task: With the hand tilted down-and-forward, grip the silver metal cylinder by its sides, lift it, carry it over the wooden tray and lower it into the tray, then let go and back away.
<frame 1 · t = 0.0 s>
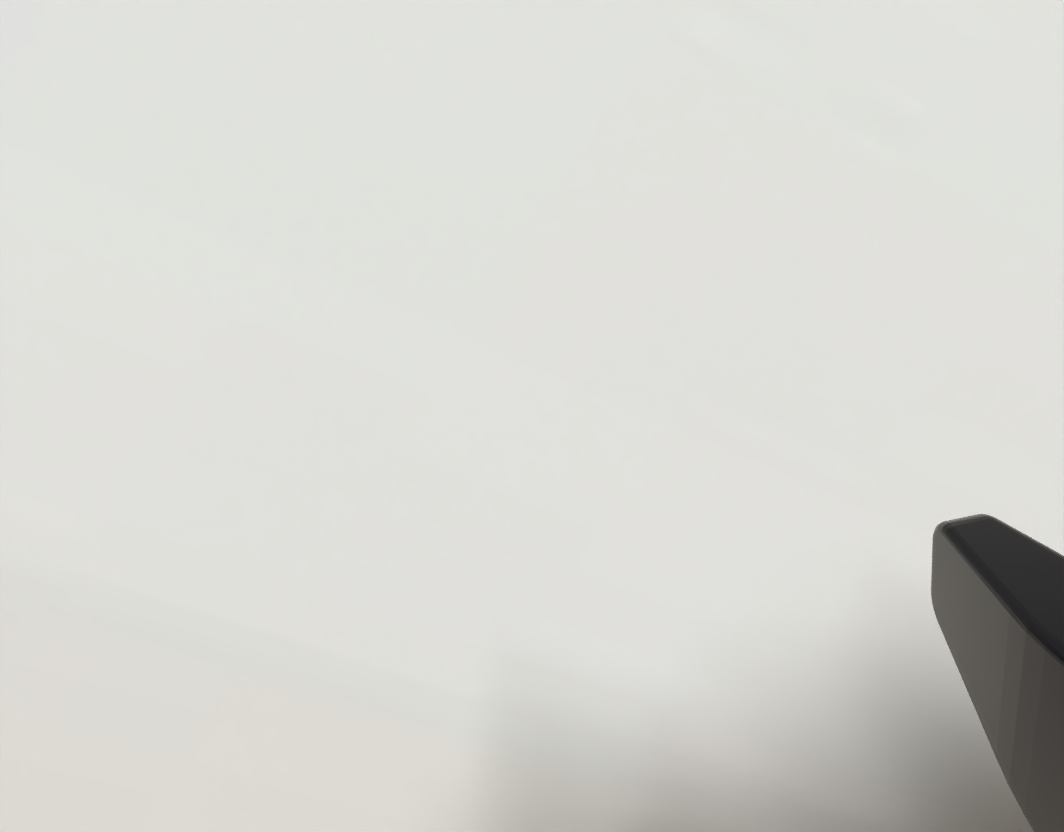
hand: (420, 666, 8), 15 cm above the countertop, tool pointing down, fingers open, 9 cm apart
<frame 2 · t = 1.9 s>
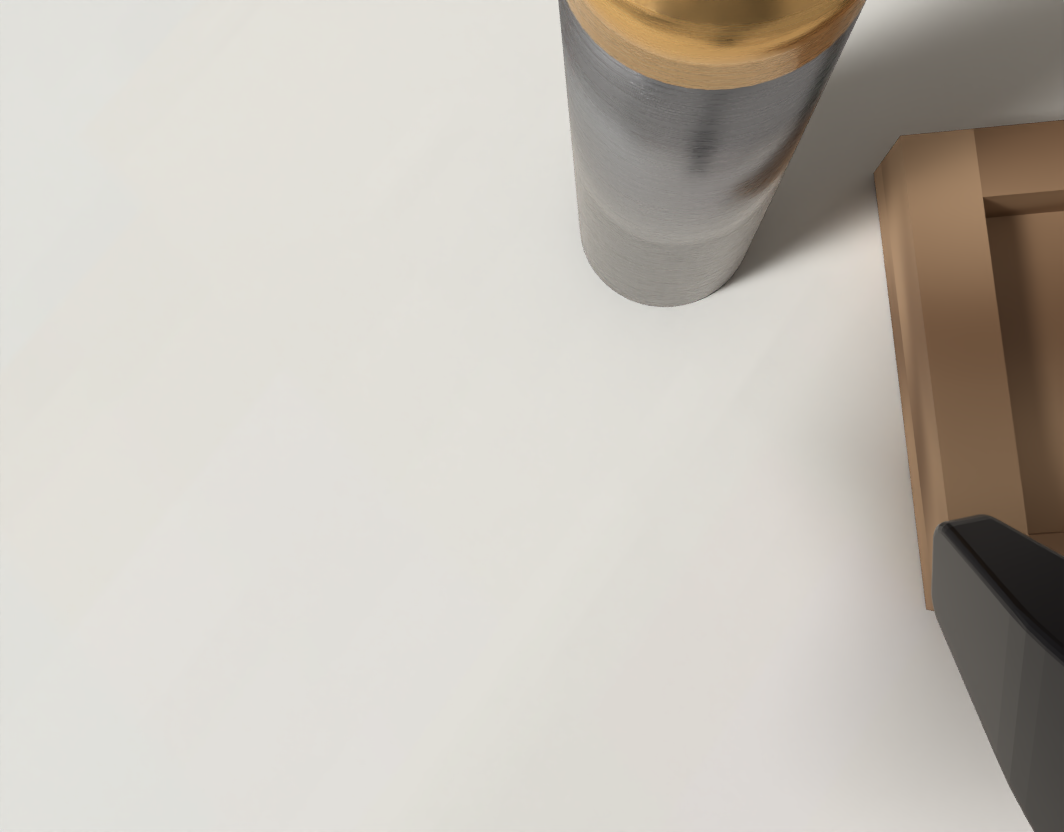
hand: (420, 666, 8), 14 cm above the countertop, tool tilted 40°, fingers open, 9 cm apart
silver metal cylinder: (664, 223, 23), on the countertop
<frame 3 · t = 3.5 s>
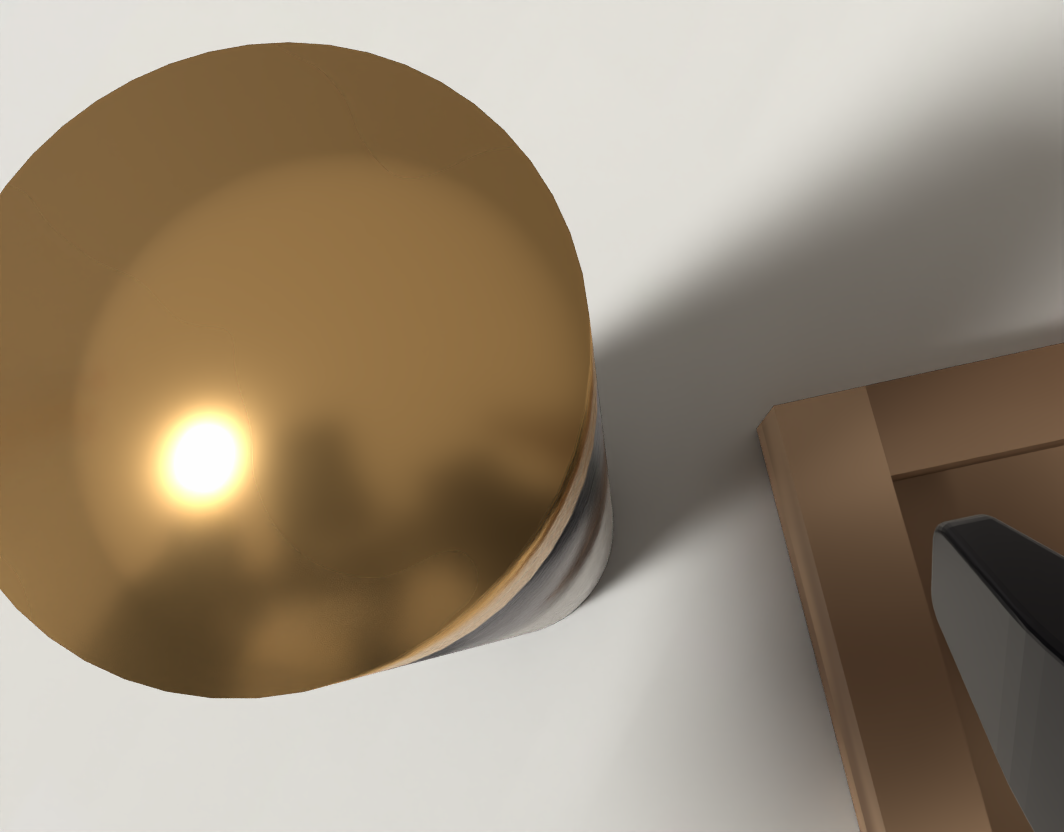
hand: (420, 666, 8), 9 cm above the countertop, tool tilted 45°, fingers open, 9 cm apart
silver metal cylinder: (505, 525, 18), on the countertop
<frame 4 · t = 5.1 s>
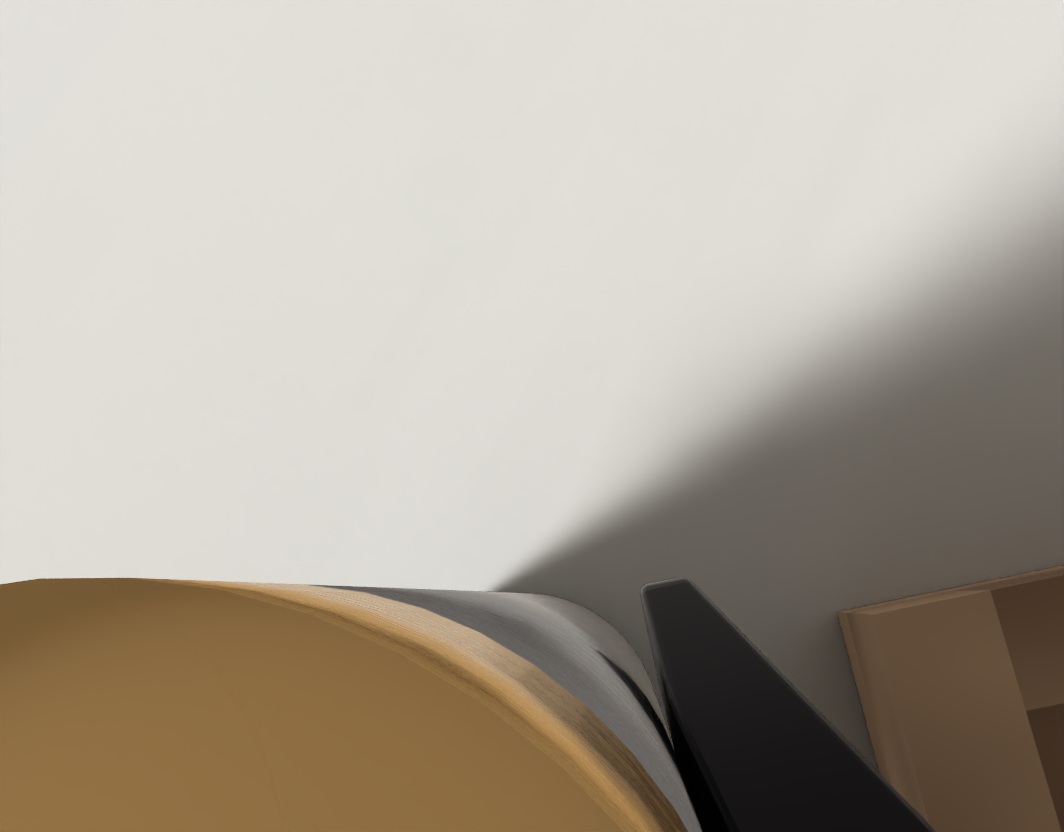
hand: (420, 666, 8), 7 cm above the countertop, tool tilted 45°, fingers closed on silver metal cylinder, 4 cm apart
silver metal cylinder: (526, 728, 15), on the countertop, touching gripper
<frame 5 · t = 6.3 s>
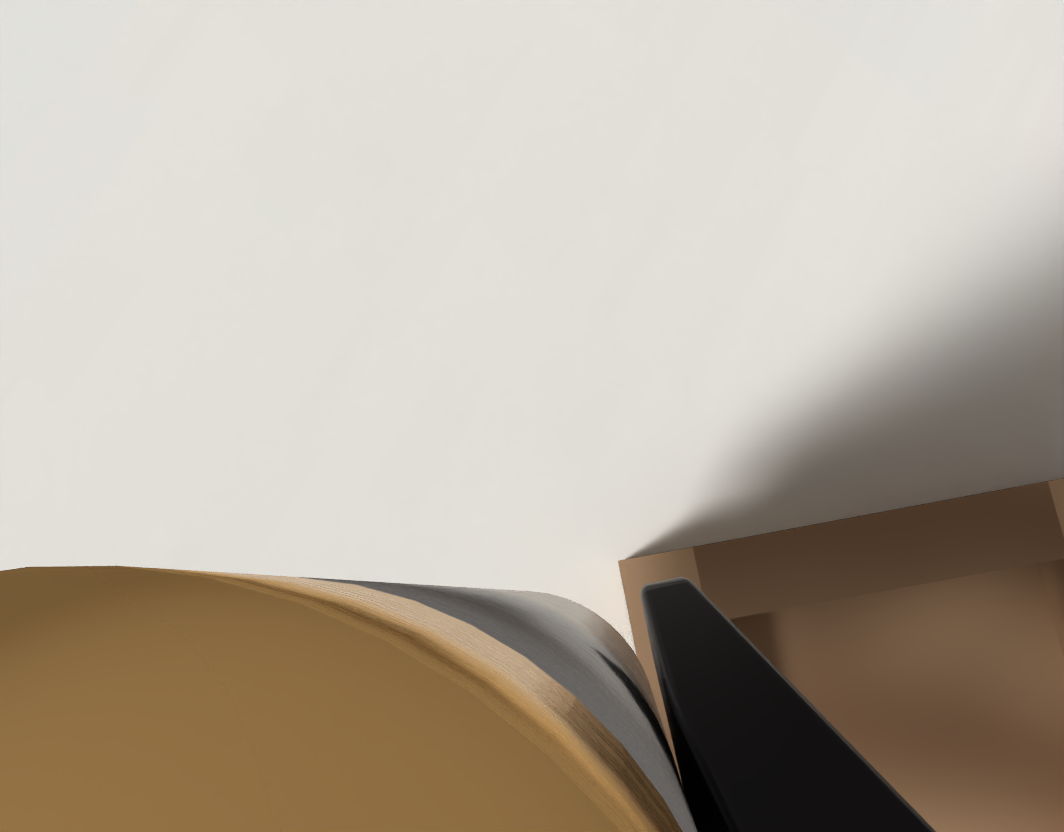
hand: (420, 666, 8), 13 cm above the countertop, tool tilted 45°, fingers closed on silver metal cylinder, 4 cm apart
silver metal cylinder: (523, 726, 15), point 7 cm above the countertop, touching gripper
wooden tray: (901, 758, 20), on the countertop
when the fingers open (8 cm above the countertop, at t = 8.0 s): silver metal cylinder stays where it is, resting on wooden tray.
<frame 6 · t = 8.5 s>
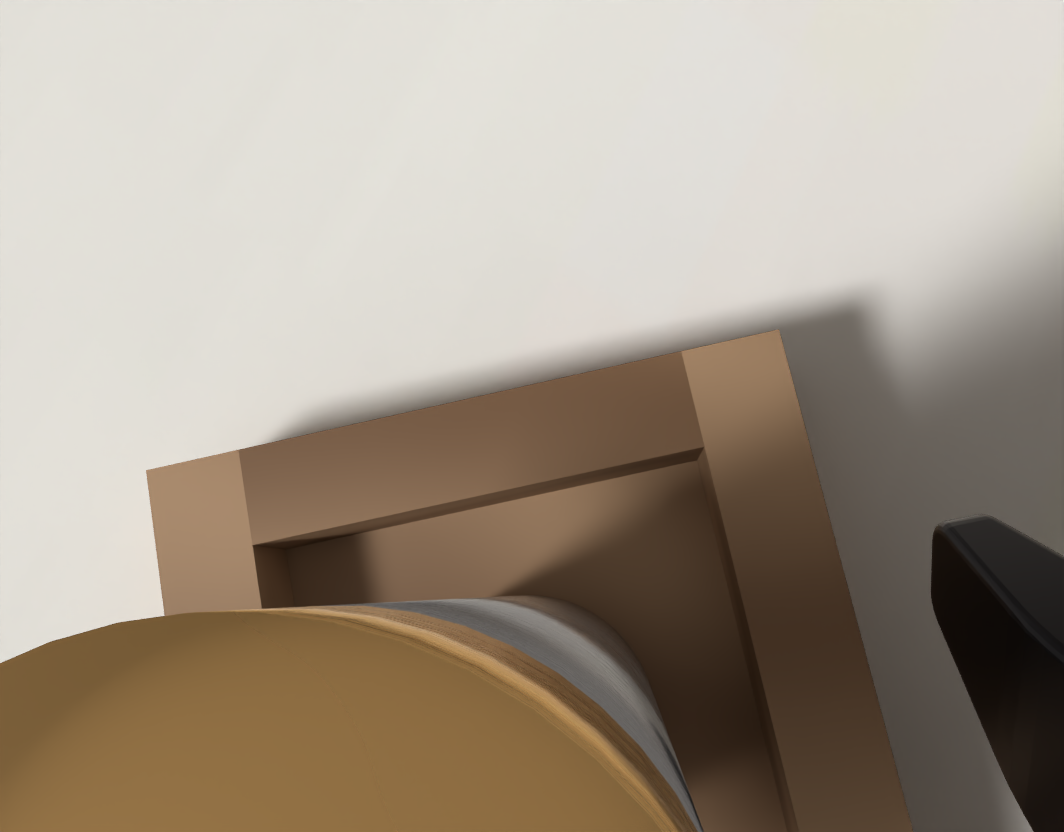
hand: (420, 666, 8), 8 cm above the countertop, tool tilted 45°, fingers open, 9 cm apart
silver metal cylinder: (529, 723, 15), point 1 cm above the countertop, touching wooden tray
wooden tray: (535, 716, 16), on the countertop
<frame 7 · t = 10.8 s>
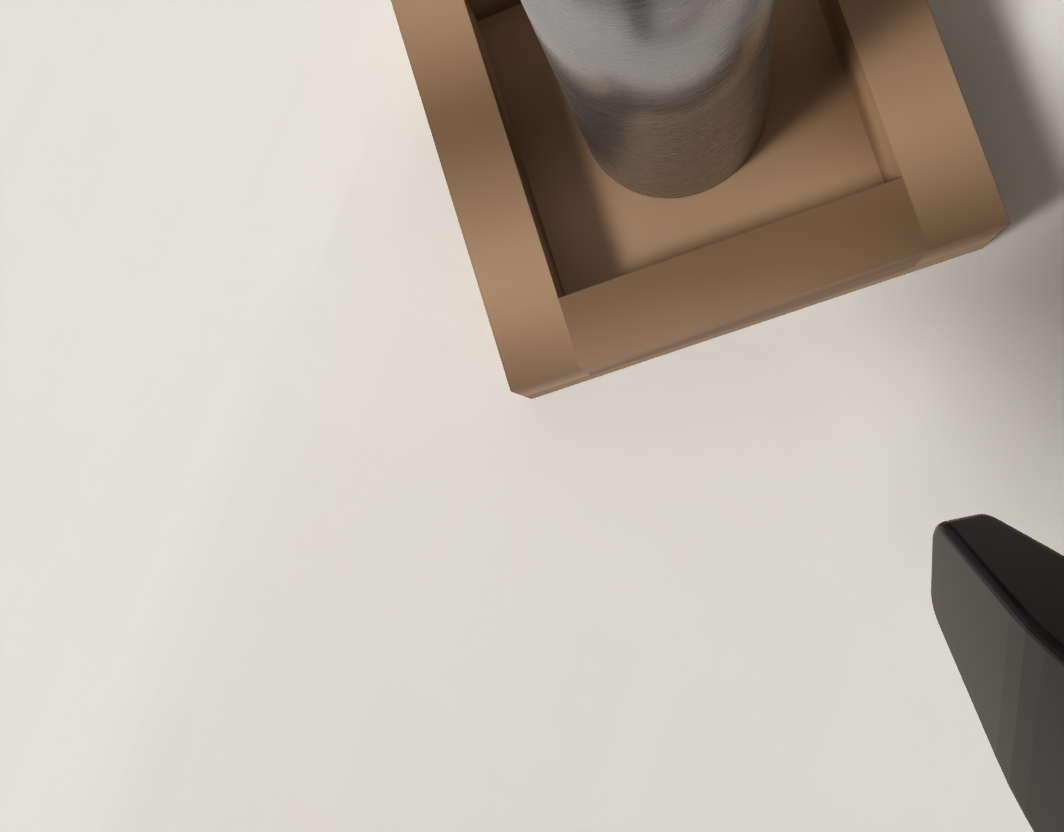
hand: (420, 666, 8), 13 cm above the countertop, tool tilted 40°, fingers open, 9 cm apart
silver metal cylinder: (672, 107, 21), point 1 cm above the countertop, touching wooden tray
wooden tray: (675, 115, 22), on the countertop
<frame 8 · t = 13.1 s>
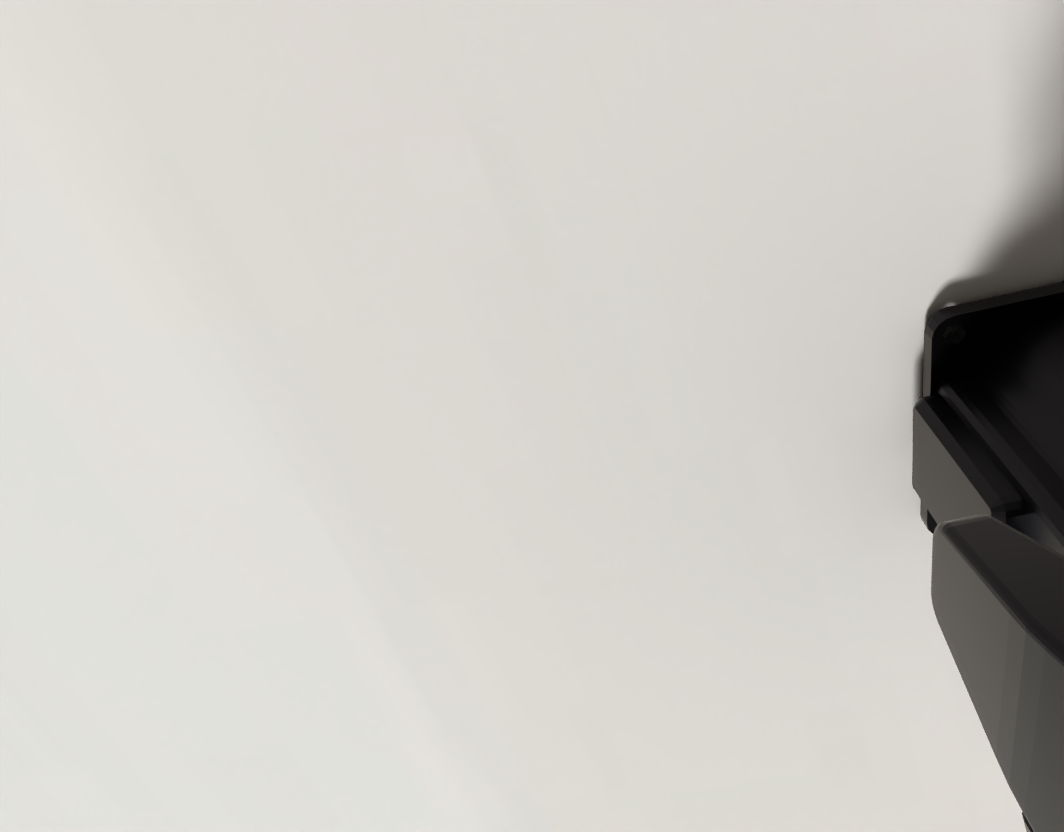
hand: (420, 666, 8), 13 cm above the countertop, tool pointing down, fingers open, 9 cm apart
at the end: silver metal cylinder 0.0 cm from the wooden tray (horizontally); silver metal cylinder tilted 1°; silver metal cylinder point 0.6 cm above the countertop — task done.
